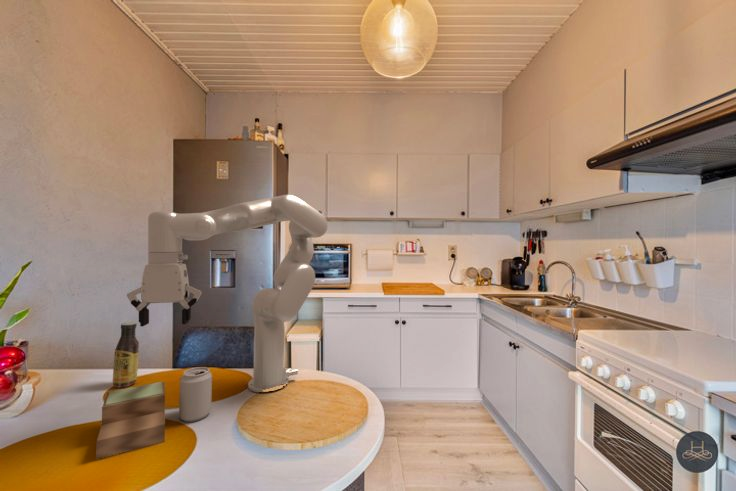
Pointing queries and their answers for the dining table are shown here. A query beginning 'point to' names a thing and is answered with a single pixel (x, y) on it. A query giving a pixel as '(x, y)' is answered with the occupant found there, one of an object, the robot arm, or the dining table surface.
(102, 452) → the step stand
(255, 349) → the robot arm
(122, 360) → the sauce bottle
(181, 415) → the can
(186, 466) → the dining table surface
